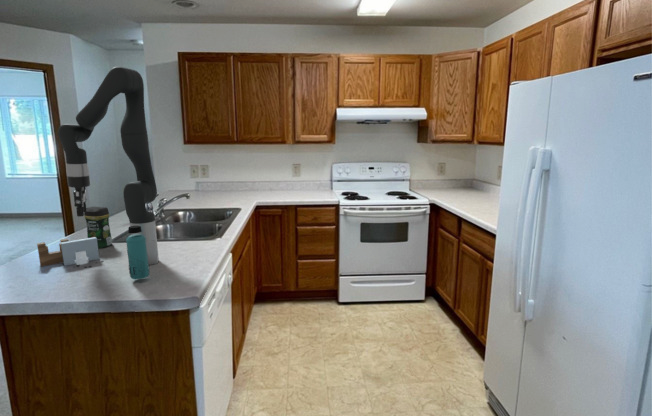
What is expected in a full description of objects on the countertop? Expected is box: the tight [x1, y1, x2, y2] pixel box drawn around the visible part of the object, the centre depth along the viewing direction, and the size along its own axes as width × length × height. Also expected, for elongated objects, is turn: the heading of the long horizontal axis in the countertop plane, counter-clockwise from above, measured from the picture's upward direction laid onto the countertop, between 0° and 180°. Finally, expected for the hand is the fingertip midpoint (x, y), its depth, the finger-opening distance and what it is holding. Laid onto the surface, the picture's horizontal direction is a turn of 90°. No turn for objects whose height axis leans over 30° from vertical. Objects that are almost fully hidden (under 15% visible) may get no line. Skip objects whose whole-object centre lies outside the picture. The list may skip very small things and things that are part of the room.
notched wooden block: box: [36, 238, 70, 267], centre depth 150 cm, size 2×10×9 cm, turn 133°
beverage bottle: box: [125, 225, 150, 280], centre depth 132 cm, size 6×7×20 cm
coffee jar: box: [83, 206, 113, 249], centre depth 172 cm, size 10×8×19 cm
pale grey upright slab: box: [60, 237, 100, 267], centre depth 152 cm, size 2×12×9 cm, turn 133°
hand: (82, 214), depth 154 cm, fingers open, 8 cm apart
